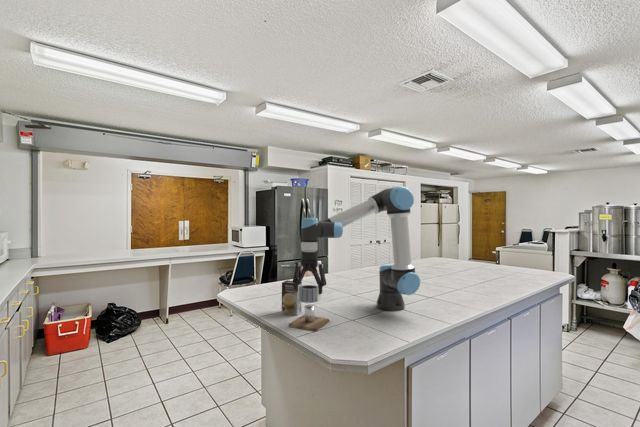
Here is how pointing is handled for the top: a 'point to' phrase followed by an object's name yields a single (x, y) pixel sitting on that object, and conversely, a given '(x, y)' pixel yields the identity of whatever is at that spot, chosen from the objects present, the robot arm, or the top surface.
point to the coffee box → (290, 299)
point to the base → (309, 326)
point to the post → (309, 314)
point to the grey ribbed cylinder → (308, 293)
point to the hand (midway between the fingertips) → (309, 299)
